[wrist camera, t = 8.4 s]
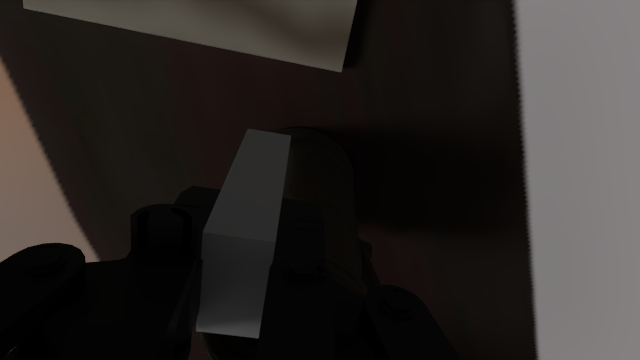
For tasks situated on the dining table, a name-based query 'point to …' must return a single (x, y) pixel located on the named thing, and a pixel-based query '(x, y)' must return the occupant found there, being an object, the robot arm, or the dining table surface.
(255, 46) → the pivot plate
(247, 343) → the beer stein
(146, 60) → the dining table surface
